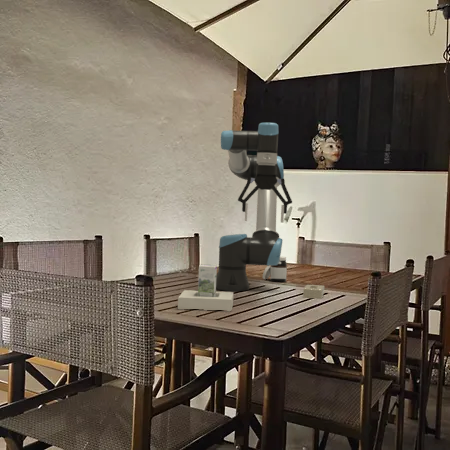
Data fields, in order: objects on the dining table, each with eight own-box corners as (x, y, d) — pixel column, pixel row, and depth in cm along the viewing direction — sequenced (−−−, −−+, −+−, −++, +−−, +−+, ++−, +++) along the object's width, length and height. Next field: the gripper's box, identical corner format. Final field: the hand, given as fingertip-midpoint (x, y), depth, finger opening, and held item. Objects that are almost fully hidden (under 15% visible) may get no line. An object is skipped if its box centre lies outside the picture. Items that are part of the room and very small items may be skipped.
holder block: (177, 309, 183) (178, 297, 183) (183, 301, 199) (184, 290, 199) (231, 311, 182) (231, 299, 182) (233, 303, 198) (233, 292, 198)
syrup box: (215, 305, 193) (217, 264, 192) (213, 308, 187) (215, 266, 187) (199, 304, 194) (201, 263, 193) (197, 307, 188) (198, 265, 187)
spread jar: (287, 283, 256) (288, 258, 256) (263, 282, 256) (263, 257, 256) (284, 279, 268) (285, 256, 268) (261, 278, 268) (262, 255, 268)
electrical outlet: (324, 283, 231) (321, 289, 214) (324, 293, 232) (321, 299, 214) (307, 282, 233) (303, 288, 216) (307, 291, 233) (303, 298, 216)
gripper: (233, 163, 200) (230, 220, 201) (301, 165, 199) (298, 223, 201) (233, 163, 207) (230, 219, 208) (298, 166, 207) (295, 222, 208)
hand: (263, 221), depth 205 cm, fingers open, 13 cm apart
